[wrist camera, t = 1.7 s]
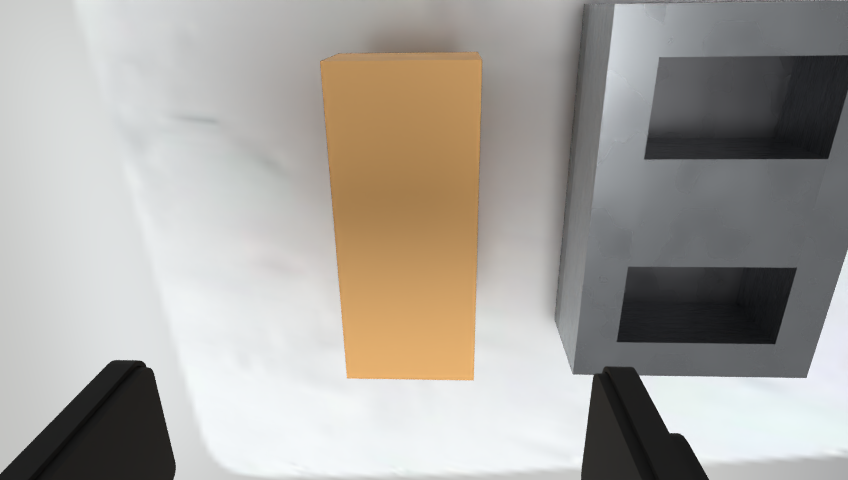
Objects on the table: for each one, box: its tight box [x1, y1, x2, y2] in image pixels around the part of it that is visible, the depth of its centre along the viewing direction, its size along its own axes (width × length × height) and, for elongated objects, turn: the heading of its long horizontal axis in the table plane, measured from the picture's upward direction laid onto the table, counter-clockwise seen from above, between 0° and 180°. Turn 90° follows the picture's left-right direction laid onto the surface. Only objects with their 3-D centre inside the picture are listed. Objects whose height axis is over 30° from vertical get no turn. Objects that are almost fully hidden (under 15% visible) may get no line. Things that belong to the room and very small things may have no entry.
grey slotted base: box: [555, 0, 848, 378], centre depth 23 cm, size 15×10×4 cm, turn 1°
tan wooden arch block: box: [320, 52, 482, 380], centre depth 22 cm, size 12×5×7 cm, turn 1°
